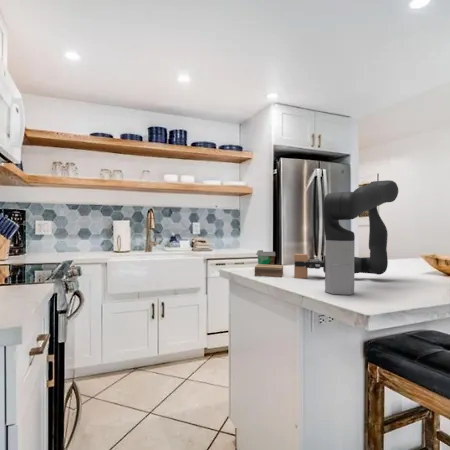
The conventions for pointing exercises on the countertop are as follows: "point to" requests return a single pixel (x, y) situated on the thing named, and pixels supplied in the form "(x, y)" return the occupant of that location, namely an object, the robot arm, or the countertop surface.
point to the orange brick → (300, 271)
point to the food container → (265, 257)
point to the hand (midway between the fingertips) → (295, 263)
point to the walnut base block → (269, 270)
